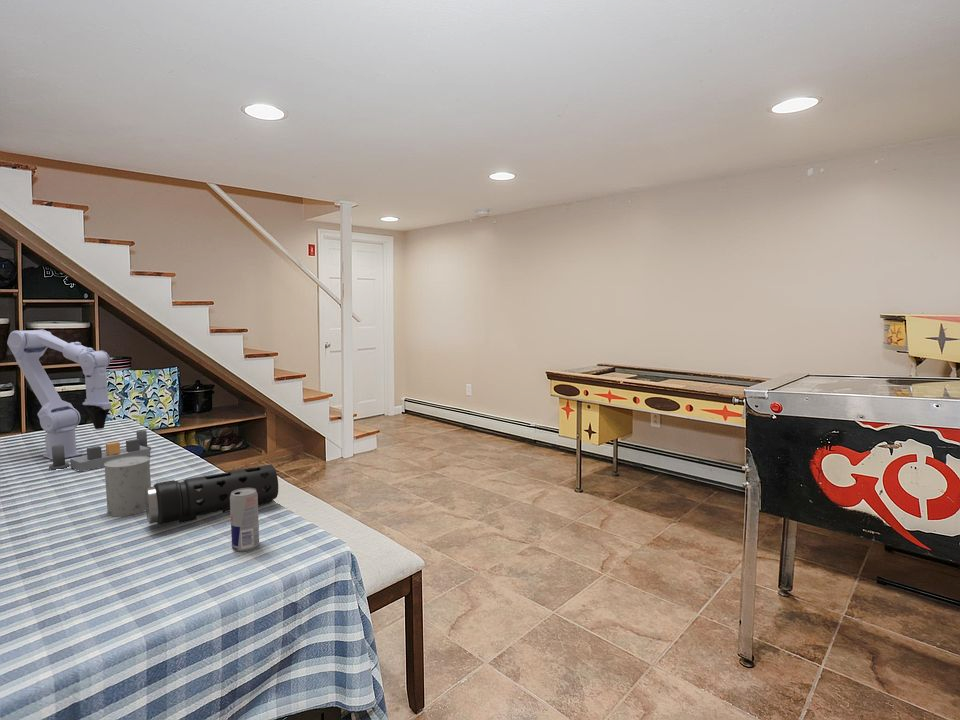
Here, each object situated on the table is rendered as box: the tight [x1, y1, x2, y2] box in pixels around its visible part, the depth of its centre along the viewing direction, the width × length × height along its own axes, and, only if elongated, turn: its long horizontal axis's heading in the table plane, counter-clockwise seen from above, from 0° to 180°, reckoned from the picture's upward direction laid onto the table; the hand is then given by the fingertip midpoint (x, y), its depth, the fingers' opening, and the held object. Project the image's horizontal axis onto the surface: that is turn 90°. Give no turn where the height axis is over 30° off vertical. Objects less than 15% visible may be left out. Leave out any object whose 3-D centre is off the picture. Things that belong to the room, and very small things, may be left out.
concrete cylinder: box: [104, 456, 152, 517], centre depth 132 cm, size 10×10×12 cm
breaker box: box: [70, 438, 151, 471], centre depth 170 cm, size 7×20×6 cm, turn 147°
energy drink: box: [229, 488, 260, 552], centre depth 112 cm, size 5×5×12 cm
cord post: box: [136, 430, 152, 451], centre depth 184 cm, size 5×5×7 cm
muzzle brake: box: [145, 464, 279, 525], centre depth 129 cm, size 10×28×10 cm, turn 128°
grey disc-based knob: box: [48, 445, 70, 470], centre depth 164 cm, size 5×5×7 cm
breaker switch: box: [105, 441, 121, 455], centre depth 170 cm, size 2×3×4 cm, turn 147°
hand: (99, 428), depth 174 cm, fingers closed
